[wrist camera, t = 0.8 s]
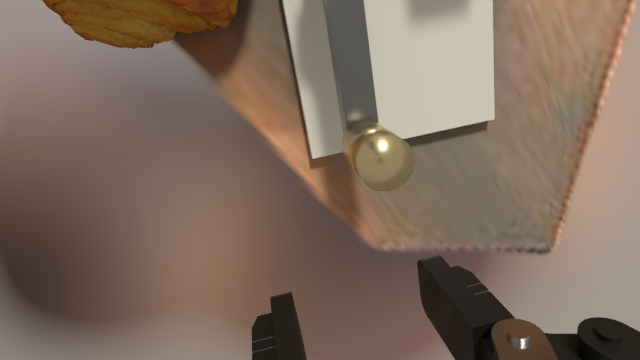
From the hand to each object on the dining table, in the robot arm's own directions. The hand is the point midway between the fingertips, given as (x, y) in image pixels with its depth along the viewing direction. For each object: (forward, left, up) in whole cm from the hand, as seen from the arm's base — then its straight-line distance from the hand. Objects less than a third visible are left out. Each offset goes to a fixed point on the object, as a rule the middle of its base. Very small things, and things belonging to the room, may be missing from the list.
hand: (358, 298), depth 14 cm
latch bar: (-7, +5, -18) cm, 20 cm away
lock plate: (-8, +11, -23) cm, 27 cm away
